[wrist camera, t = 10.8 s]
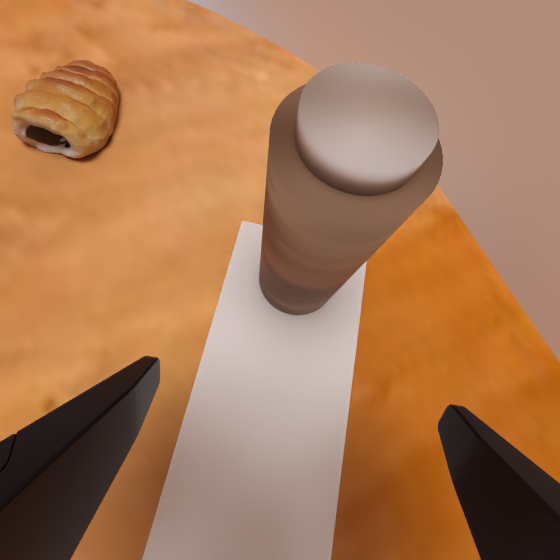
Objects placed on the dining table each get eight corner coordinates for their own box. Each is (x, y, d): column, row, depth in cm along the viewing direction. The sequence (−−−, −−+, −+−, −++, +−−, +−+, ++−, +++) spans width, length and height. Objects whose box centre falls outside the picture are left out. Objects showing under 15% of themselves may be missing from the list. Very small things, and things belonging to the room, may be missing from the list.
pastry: (70, 73, 27) (43, 27, 24) (141, 91, 28) (125, 48, 24) (20, 150, 24) (-20, 110, 21) (100, 169, 24) (75, 133, 21)
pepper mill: (340, 310, 21) (493, 190, 8) (263, 319, 20) (287, 205, 7) (325, 241, 23) (431, 46, 9) (254, 247, 22) (260, 44, 9)
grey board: (312, 653, 16) (317, 675, 15) (129, 616, 15) (119, 634, 14) (362, 256, 24) (367, 250, 23) (242, 228, 24) (242, 220, 22)
